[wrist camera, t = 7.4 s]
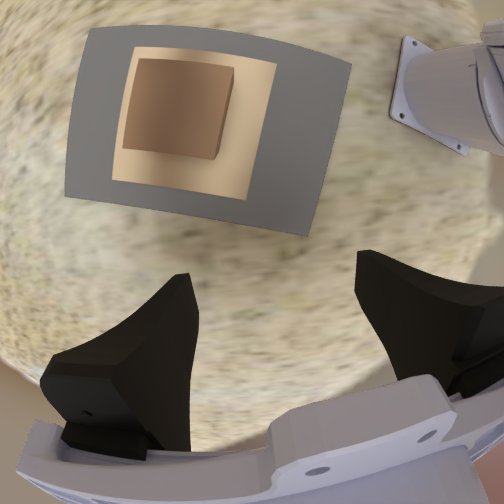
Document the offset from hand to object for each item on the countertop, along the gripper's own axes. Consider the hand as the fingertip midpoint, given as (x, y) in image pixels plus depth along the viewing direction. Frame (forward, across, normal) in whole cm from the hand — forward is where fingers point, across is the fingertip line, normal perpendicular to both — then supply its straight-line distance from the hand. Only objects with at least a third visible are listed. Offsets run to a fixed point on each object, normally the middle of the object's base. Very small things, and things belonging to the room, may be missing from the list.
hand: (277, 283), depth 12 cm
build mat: (+10, +4, -7) cm, 13 cm away
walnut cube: (+8, +4, -8) cm, 11 cm away
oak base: (+10, +4, -7) cm, 13 cm away
